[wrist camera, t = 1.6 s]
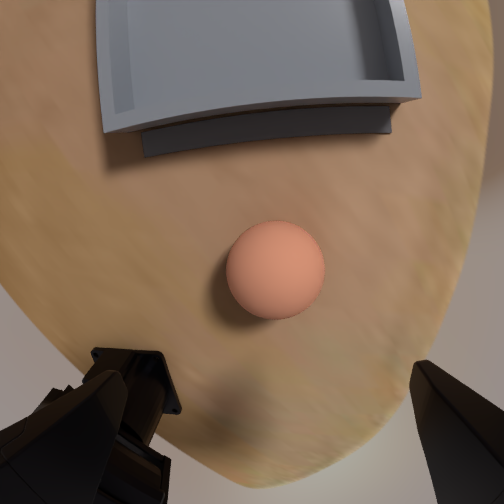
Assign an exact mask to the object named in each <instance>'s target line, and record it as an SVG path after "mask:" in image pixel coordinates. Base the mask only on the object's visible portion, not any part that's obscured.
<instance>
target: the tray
mask: <svg viewBox="0 0 504 504" xmlns="http://www.w3.org/2000/svg"><path fill="white" fill-rule="evenodd" d="M96 45H97V66H98V81H99V93H100V104H101V113H102V122H103V131H104V133H120V132H133V131H137V130H141V129H145V128H150V127H154V126H159V125H164V124H169V123H174V122H179V121H184V120H190V119H195V118H201V117H207V116H213V115H220V114H227V113H234V112H241V111H249V110H257V109H267V108H276V107H287V106H300V105H315V104H336V103H404V102H408V101H412V100H416V99H420V98H422V96H421V88H420V80H419V74H418V67H417V61H416V55H415V50H414V44H413V39H412V34H411V30H410V25H409V21H408V16H407V12H406V8H405V4H404V0H96Z"/></svg>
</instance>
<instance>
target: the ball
mask: <svg viewBox="0 0 504 504" xmlns="http://www.w3.org/2000/svg"><path fill="white" fill-rule="evenodd" d="M226 276H227V282H228V285H229V288H230V291H231V293H232V295H233V296H234V298H235V299H236V301H237V302H238V303H239V304H240V305H241V306H242V307H243V308H244V309H246V310H247V311H248V312H250V313H252V314H254V315H256V316H258V317H261V318H265V319H272V320H279V319H286V318H290V317H293V316H295V315H297V314H299V313H301V312H302V311H304V310H305V309H307V308H308V307H309V306H310V305H311V304H312V303H313V302H314V300H315V299H316V297H317V296H318V294H319V293H320V291H321V288H322V285H323V282H324V276H325V265H324V258H323V255H322V252H321V250H320V248H319V246H318V244H317V242H316V241H315V240H314V239H313V237H312V236H311V235H310V234H309V233H308V232H306V231H305V230H303V229H302V228H300V227H299V226H297V225H294V224H292V223H289V222H284V221H267V222H263V223H259V224H257V225H255V226H253V227H251V228H249V229H247V230H246V231H245V232H244V233H242V234H241V235H240V236H239V238H238V239H237V240H236V241H235V243H234V244H233V246H232V248H231V250H230V252H229V255H228V259H227V264H226Z"/></svg>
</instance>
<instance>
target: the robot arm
mask: <svg viewBox="0 0 504 504" xmlns="http://www.w3.org/2000/svg"><path fill="white" fill-rule="evenodd" d="M91 356H92V358H93V360H94V362H95V363H94V365H93V366H92V367H91V369H90V370H89V371H88V372H87V374H86V375H85V376H84V378H83V380H82V383H83V385H81V386H79V387H78V388H76V389H73V388H72V387H71V386H70V385H68V386H67V387H66V389H65V390H64V391H62V390H58V389H55V388H53V389H52V390H51V391H50V392H49V394H48V395H47V396H46V397H45V399H44V400H43V401H42V402H41V403H40V405H39V406H38V407H37V408H36V409H35V410H34V412H33V413H32V414H31V415H29V416H28V417H26V418H24V419H22V420H20V421H18V422H17V423H15V424H13V425H11V426H9V427H7V428H5V429H3V430H1V431H0V504H167V500H168V489H169V477H170V466H171V459H170V458H168V457H166V456H165V455H164V456H163V455H161V454H160V453H158V452H156V451H155V450H153V449H152V448H150V447H149V444H150V442H151V439H152V437H153V435H154V432H155V430H156V428H157V425H158V423H159V421H160V418H161V416H162V414H163V413H164V414H175V415H178V414H180V413H181V410H182V407H181V404H180V402H179V399H178V396H177V393H176V390H175V388H174V385H173V382H172V379H171V376H170V373H169V370H168V367H167V364H166V361H165V358H164V355H163V354H162V353H161V352H159V351H147V350H131V349H115V348H98V347H95V348H93V350H92V351H91ZM156 357H157V358H159V359H157V358H156ZM409 388H410V393H411V398H412V403H413V408H414V414H415V419H416V424H417V429H418V434H419V437H420V440H421V444H422V447H423V450H424V454H425V457H426V461H427V465H428V468H429V472H430V475H431V479H432V483H433V487H434V491H435V495H436V499H437V503H438V504H504V411H503V410H501V409H500V408H498V407H497V406H496V405H494V404H493V403H491V402H490V401H488V400H487V399H485V398H484V397H482V396H481V395H479V394H478V393H476V392H475V391H474V390H472V389H471V388H469V387H468V386H466V385H465V384H463V383H461V382H460V381H459V380H457V379H456V378H454V377H453V376H451V375H450V374H448V373H447V372H445V371H444V370H442V369H441V368H440V367H438V366H437V365H435V364H434V363H432V362H431V361H429V360H421V361H416V362H415V363H414V365H413V369H412V374H411V378H410V383H409Z"/></svg>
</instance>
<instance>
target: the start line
mask: <svg viewBox="0 0 504 504" xmlns="http://www.w3.org/2000/svg"><path fill="white" fill-rule="evenodd" d="M351 133H392V130H391V119H390V109H389V106H348V107H323V108H306V109H293V110H281V111H271V112H261V113H253V114H244V115H237V116H229V117H222V118H216V119H209V120H203V121H197V122H192V123H186V124H181V125H175V126H170V127H165V128H160V129H156V130H151V131H146V132H142V133H141V136H142V143H143V150H144V157H150V156H155V155H160V154H166V153H171V152H177V151H183V150H189V149H196V148H202V147H209V146H216V145H223V144H230V143H238V142H247V141H256V140H265V139H275V138H286V137H298V136H312V135H329V134H351Z"/></svg>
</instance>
